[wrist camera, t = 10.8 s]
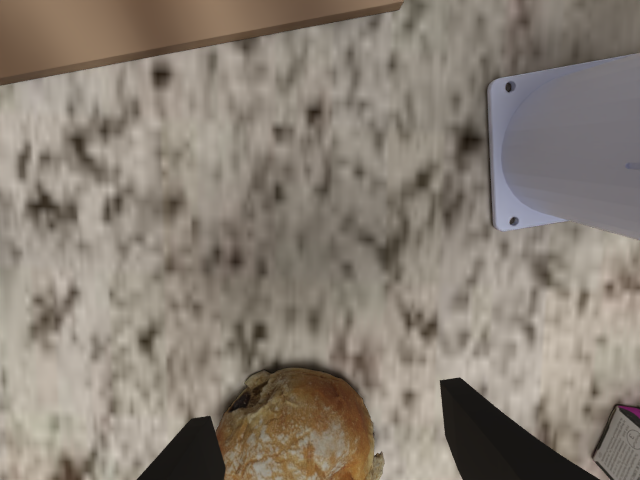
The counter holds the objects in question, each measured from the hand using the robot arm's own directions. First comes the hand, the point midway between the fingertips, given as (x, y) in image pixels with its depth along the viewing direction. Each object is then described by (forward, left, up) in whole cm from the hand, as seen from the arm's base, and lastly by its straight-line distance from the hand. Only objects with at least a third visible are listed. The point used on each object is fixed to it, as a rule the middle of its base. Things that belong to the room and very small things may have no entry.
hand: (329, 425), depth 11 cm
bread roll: (+3, +9, -11) cm, 15 cm away
